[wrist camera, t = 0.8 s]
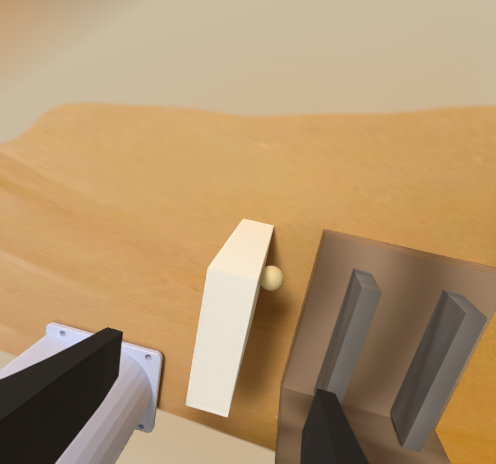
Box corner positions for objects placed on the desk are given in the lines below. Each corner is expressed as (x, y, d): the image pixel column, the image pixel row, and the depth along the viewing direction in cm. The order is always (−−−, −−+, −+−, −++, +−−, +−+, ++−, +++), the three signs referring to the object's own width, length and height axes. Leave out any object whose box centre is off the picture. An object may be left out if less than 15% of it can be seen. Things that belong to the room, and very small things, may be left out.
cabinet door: (225, 312, 22) (185, 405, 14) (243, 218, 19) (207, 267, 12) (268, 323, 21) (251, 424, 14) (291, 229, 19) (286, 287, 12)
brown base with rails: (280, 382, 22) (273, 473, 16) (323, 229, 19) (335, 271, 13) (420, 421, 22) (469, 533, 15) (494, 267, 18) (597, 334, 12)
